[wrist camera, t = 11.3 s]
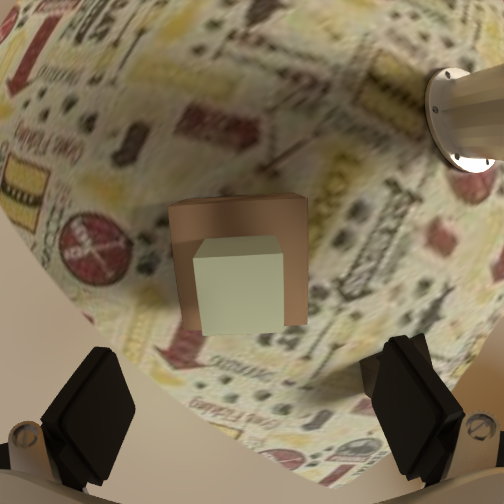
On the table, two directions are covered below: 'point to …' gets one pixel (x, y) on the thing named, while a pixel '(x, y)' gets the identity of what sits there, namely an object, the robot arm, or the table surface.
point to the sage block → (240, 285)
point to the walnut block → (239, 225)
